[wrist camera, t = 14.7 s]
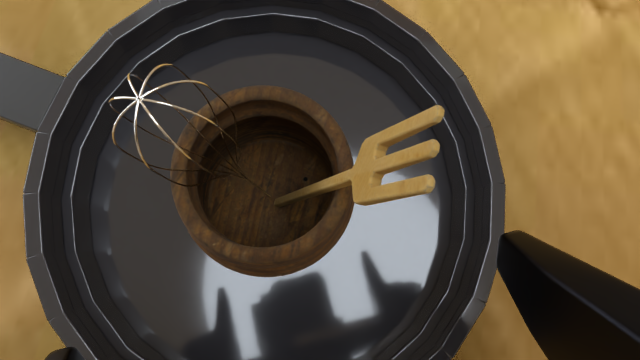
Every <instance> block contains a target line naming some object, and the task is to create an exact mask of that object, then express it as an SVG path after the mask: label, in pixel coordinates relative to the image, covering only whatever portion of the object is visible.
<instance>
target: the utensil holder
mask: <svg viewBox="0 0 640 360" xmlns="http://www.w3.org/2000/svg"><path fill="white" fill-rule="evenodd" d="M163 66H171V67H174V68H176V69H177V70H178V71H180V72H181V73H182V74H183V75H184V76H185V77H186V78H187V79H188V80H181V81H174V82H170V83H167V84H164V85H161V86H159V87H157V88H152V87H151V86H150V85H149V84H147V81H148V79H149V77H150V76H151V75H152V74H153V72H154V71H156V70H157V69H158V68H160V67H163ZM130 75H132V76H134V77H136V78H138V79H139V80H140V81H142V82H143V85H142V88H141V91H140V94H139V95H138V94H137V92H136V90H135V89H134V87H133V85H132V83H131V80H130ZM127 79H128V82H129V84H130V86H131V88H132V90H133V92H134V94H135V95H136V97H114V98H111V99H110V100H109V101H108V104H109V106H110V108H111V109H112V110H113V111H114V112H116V113H117V114H119V117H118V118H117V120H116V122H115V123H114V126H113V130H112V139H113V142H114V144H115V146H116V147H117V148H118V149H119V150H121V151H122V152H124V153H125V154H127V155H129V156H130V157H132V158H134V159H136V160H138V161H140V162H142V163H144V164H145V165H146V166H147V168H148V169H150V170H151V171H152V172H154V173H155V174H157V175H159V176H161V177H162V178H164V179H166V180H168V181H170V182H171V190H172V195H173V199H174V202H175V205H176V208H177V211H178V213H179V215H180V217H181V219H182V221H183V223H184V225H185V226H186V228H187V230H188V232H189V233H190V235H191V237H192V238H193V240H194V241H195V242H196V244H197V245H198V246H199V247H200V248H201V249H202V250H203V251H204V252H205V253H206V254H207V255H208V256H209V257H210V258H212V259H213V260H214V261H216V262H217V263H219V264H220V265H222V266H224V267H226V268H228V269H230V270H232V271H235V272H238V273H241V274H245V275H249V276H255V277H278V276H285V275H289V274H292V273H295V272H298V271H301V270H303V269H305V268H307V267H309V266H311V265H313V264H314V263H316V262H317V261H319V260H320V259H321V258H323V257H324V256H325V255H326V254H327V253H328V252H329V251H330V250H331V249H332V248H333V247H334V246H335V245H336V243H337V242H338V241H339V239H340V238H341V236H342V235H343V233H344V231H345V230H346V227H347V225H348V223H349V221H350V218H351V215H352V212H353V208H354V203H356V204H358V205H363V206H368V205H373V204H378V203H383V202H388V201H393V200H398V199H403V198H408V197H413V196H417V195H422V194H427V193H431V192H432V190H433V189H434V187H435V179H434V177H433V176H432V175H429V174H427V175H423V176H418V177H414V178H410V179H405V180H401V181H397V182H393V183H388V184H384V185H381V182H382V178H383V177H384V175H385V174H388V173H391V172H394V171H396V170H399V169H402V168H405V167H408V166H411V165H414V164H417V163H420V162H422V161H425V160H428V159H431V158H434V157H436V156H437V154H438V153H439V149H440V144H439V142H438V141H437V140H434V139H431V140H428V141H426V142H423V143H420V144H417V145H414V146H412V147H409V148H406V149H403V150H400V151H398V152H395V153H392V154H389V155H386V151H387V150H388V148H389V146H392V145H394V144H396V143H398V142H400V141H402V140H404V139H406V138H408V137H410V136H413V135H415V134H417V133H419V132H421V131H423V130H425V129H427V128H429V127H431V126H433V125H436V124H438V123H440V122H441V120H442V119H443V117H444V111H445V110H444V108H443V107H442V106H440V105H435V106H433V107H431V108H429V109H427V110H425V111H423V112H421V113H419V114H416V115H414V116H412V117H410V118H408V119H406V120H404V121H402V122H400V123H397V124H395V125H393V126H391V127H389V128H387V129H385V130H383V131H381V132H378V133H376V134H374V135H372V136H370V137H368V138H367V139H365V140H364V142H363V143H362V146H361V148H360V151H359V154H358V156H357V159H356V162H355V164H353V158H352V154H351V151H350V147H349V144H348V142H347V139H346V137H345V135H344V133H343V131H342V130H341V128H340V126H339V125H338V123H337V122H336V121H335V119H334V118H333V117H332V116H331V115H330V114H329V113H328V112H327V111H326V110H325V109H324V108H323V107H322V106H321V105H319V104H318V103H317V102H315V101H314V100H312V99H311V98H309V97H307V96H305V95H303V94H301V93H299V92H296V91H294V90H291V89H287V88H283V87H278V86H269V85H257V86H248V87H243V88H239V89H235V90H232V91H229V92H227V93H225V94H222V95H219V94H218V93H217V92H216V91H215V90H214V89H212V88H211V87H210V86H209V85H207V84H205V83H203V82H199V81H193V80H191V79H190V78H189V77H188V76H187V75H186V74H185V73H184V72H183V71H182V70H180V69H179V68H178V67H176V66H175V65H172V64H161V65H159V66H157V67H155V68H154V69H153V70H152V71H151V72H150V73H149V74H148V76H147V77H146V79H145V81H144V80H142V79H141V78H140V77H138V76H137V75H135V74H133V73H128V75H127ZM186 82H188V83H193V84H194V85H195V87H196V88H197V89H198V90H199V91H200V92H201V93H202V95H203V96H204V98H205V99H206V101H207V102H208V103H207V104H206V105H205V106H203V107H202V108H201V109H200V110H199V111H198V112H197V113H195V112H192V111H190V110H187V109H184V108H182V107H179V106H175V105H172V104H171V103H170V102H169V101H168V100H167V99H166V98H164V97H163V96H162V95H161V94H160V93H159V92H157V91H156V90H158V89H161V88H163V87H166V86H169V85H172V84H177V83H186ZM195 83H198V84H202V85H204V86H206V87H208V88H209V89H210V90H212V91H213V92H214V93H215V94H216V95H217V96H218V97H217V98H215V99H213V100H212V101H210V102H209V101H208V99H207V97H206V96H205V94H204V93H203V92H202V90H201V89H200V88H199V87H198V86H197V85H196V84H195ZM145 85H147V86H148V87H149V88H150V89H152V90H151V91H149V92H147V93H145V94H144V95H142V93H143V90H144V87H145ZM152 92H155V93H157V94H158V95H159V96H160V97H162V98H163V99H164V100H165V101H166V102H167V103H165V102H160V101H156V100H150V99H144V97H145V96H147V95H149V94H150V93H152ZM139 98H140V99H139ZM116 99H133V100H135V101H134V102H133V103H131V104H130V105H129V106H128V107H127V108H126V109H125V110H124V111H123V112H122V113H119V112H118V111H117V110H115V109H114V108H113V107H112V105H111V101H113V100H116ZM142 101H148V102H153V103H158V104H163V105H167V106H170V107H173V108H174V109H175V110H176V111H177V112H178V113H179V114H180V115H181V116H182V117H183V118H184V119H185V120H186V121H187V122H188V123H187V125H186V126H185V128H184V129H183V131H182V133H181V135H180V137H179V139H178V141H177V144H176V143H175V142H174V141H173V140H172V139H171V138H170V137H169V136H168V135H167V133H166V132H165V131H164V130H163V129H162V128H161V126H160V125H159V124H158V123H157V121H156V120H155V119H154V117H153V116H152V115H151V113H150V112H149V111H148V109H147V108H146V106H145V105H144V103H143V102H142ZM135 103H137V105H136V111H135V119H134V122H133V121H131V120H130V119H128V118H127V117H125V116H124V113H125V112H126V111H127V110H128V109H129V108H131V107H132V106H133V105H134V104H135ZM140 103H141V105H142V106H143V108H144V109H145V111H146V112H147V113H148V115H149V116H150V117H151V119H152V120H153V121H154V123H155V124H156V125H157V127H158V128H159V129H160V130H161V131H162V133H163V134H164V135H165V136H166V137H167V138H168V139H169V140H170V142H169V141H167V140H165V139H163V138H160V137H158V136H156V135H155V134H153V133H151V132H149V131H147V130H145V129H144V128H142V127H141V126H139V125H137V115H138V108H139V104H140ZM178 109H180V110H183V111H186V112H188V113H191V114H193V115H194V116H193V117H192V118H191V120H190V121H189V120H188V119H187V118H186V117H185V116H184V115H183V114H182V113H181V112H180V111H179V110H178ZM121 117H123V118H125V119H126V120H128V121H129V122H131V123H132V124H134V133H135V141H136V145H137V149H138V152H139V154H140V157H141V159H142V160H140V159H138V158H136V157H135V156H133V155H131V154H129V153H128V152H126V151H124V150H123V149H122V148H120V147H119V146H118V144H117V143H116V140H115V128H116V125H117V123H118V121H119V120H120V118H121ZM137 127H138V128H140V129H142V130H143V131H145V132H147V133H149V134H151V135H153V136H154V137H156V138H158V139H161V140H163V141H165V142H167V143H169V144H172V145H174V146H175V149H174V153H173V157H172V162H171V169H168V168H161V167H157V166H154V165H151V164H148V163H146V161H145V159H144V157H143V155H142V153H141V150H140V147H139V143H138V138H137ZM150 166H151V167H154V168H158V169H162V170H170V171H171V172H170V179H168V178H167V177H165V176H163V175H161V174H160V173H158V172H156V171H155V170H153V169H152V168H151V167H150Z"/></svg>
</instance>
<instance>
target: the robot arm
mask: <svg viewBox="0 0 640 360" xmlns="http://www.w3.org/2000/svg"><path fill="white" fill-rule="evenodd" d="M496 265H497V268H498V271H499V273H500V275H501V277H502V279H503V281H504V283H505V285H506V287H507V288H508V290H509V292H510V294H511V296H512V298H513V300H514V302H515V304H516V306H517V308H518V310H519V312H520V314H521V315H522V317H523V319H524V321H525V323H526V325H527V327H528V329H529V330H530V332H531V334H532V335H533V337H534V339H535V340H536V342H537V343H538V345H539V346H540V348H541V349H542V351H543V352H544V354H545V355H546V357H547V358H548V360H640V289H638V288H636V287H634V286H632V285H630V284H628V283H626V282H624V281H622V280H620V279H618V278H616V277H614V276H612V275H610V274H608V273H606V272H604V271H602V270H600V269H597V268H595V267H593V266H591V265H589V264H587V263H585V262H583V261H581V260H579V259H577V258H575V257H573V256H571V255H569V254H567V253H565V252H563V251H561V250H559V249H557V248H555V247H553V246H551V245H549V244H547V243H545V242H543V241H541V240H539V239H537V238H535V237H533V236H531V235H529V234H527V233H525V232H522V231H519V230H517V231H512V232H508V233H504V234H502V235H501V236H500V237H499V243H498V250H497V257H496ZM45 360H85V358H84V357H83V356H82V355H81V353H80V352H79V351H78V349H77V348H75V347H67V348H63V349H59V350H55V351H53V352H51V353H50V354H49V355H48V356H47V357H46V358H45Z"/></svg>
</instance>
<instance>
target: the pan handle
mask: <svg viewBox="0 0 640 360" xmlns="http://www.w3.org/2000/svg"><path fill="white" fill-rule="evenodd" d="M64 78H65V77H63V76H60V75H58V74H55V73H52V72H50V71H47V70H45V69H42V68H39V67H37V66H34V65H32V64H29V63H26V62H24V61H21V60H18V59H16V58H13V57H11V56H8V55H5V54H3V53H0V119H2V120H4V121H7V122H9V123H12V124H15V125H17V126H20V127H22V128H25V129H28V130H30V131H33V132H35V133H36V132H38V131H37V129H38V127H39V125H40V123H41V122H42V120H43V118H44V116H45V114H46V112H47V110H48V108H49V106H50V104H51V102H52V101H53V99H54V97H55V95H56V93H57V91H58V89H59V87H60V85H61V83H62V81H63V80H64Z"/></svg>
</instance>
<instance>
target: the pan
mask: <svg viewBox="0 0 640 360" xmlns="http://www.w3.org/2000/svg"><path fill="white" fill-rule="evenodd" d="M161 64H172V65H175V66H176V67H178V68H179V69H180V70H182V71H183V72H184V73H185V74H186V75H187V76H188V77H189V78H190V79H191V80H193V81H199V82H203V83H205V84H207V85H209V86H210V87H211V88H212V89H214V90H215V91H216V92H217V93H218V94H219V95H222V94H225V93H227V92H229V91H232V90H235V89H239V88H243V87H248V86H257V85H269V86H278V87H283V88H287V89H291V90H294V91H296V92H299V93H301V94H303V95H305V96H307V97H309V98H311V99H312V100H314V101H315V102H317V103H318V104H319V105H321V106H322V107H323V108H324V109H325V110H326V111H327V112H328V113H329V114H330V115H331V116H332V117H333V118H334V119H335V121H336V122H337V123H338V125H339V126H340V128H341V130H342V131H343V133H344V135H345V137H346V139H347V142H348V144H349V147H350V151H351V154H352V158H353V164H355V162H356V159H357V156H358V154H359V151H360V148H361V146H362V143H363V142H364V140H365V139H367V138H368V137H370V136H372V135H374V134H376V133H378V132H381V131H383V130H385V129H387V128H389V127H391V126H393V125H395V124H397V123H400V122H402V121H404V120H406V119H408V118H410V117H412V116H414V115H416V114H419V113H421V112H423V111H425V110H427V109H429V108H431V107H433V106H435V105H440V106H442V107H443V108H444V110H445V111H444V117H443V119H442V120H441V122H440V123H438V124H436V125H433V126H431V127H429V128H427V129H425V130H423V131H421V132H419V133H417V134H415V135H413V136H410V137H408V138H406V139H404V140H402V141H400V142H398V143H396V144H394V145H392V146H389V148H388V150H387V151H386V155H389V154H392V153H395V152H398V151H400V150H403V149H406V148H409V147H412V146H414V145H417V144H420V143H423V142H426V141H428V140H431V139H434V140H437V141H438V142H439V144H440V149H439V153H438V154H437V156H436V157H434V158H431V159H428V160H425V161H422V162H420V163H417V164H414V165H411V166H408V167H405V168H402V169H399V170H396V171H394V172H391V173H388V174H385V175H384V177H383V178H382V182H381V185H384V184H388V183H393V182H397V181H401V180H405V179H410V178H414V177H418V176H423V175H427V174H429V175H432V176H433V177H434V179H435V187H434V189H433V190H432V192H431V193H427V194H422V195H417V196H413V197H408V198H403V199H398V200H393V201H388V202H383V203H378V204H373V205H368V206H363V205H358V204H356V203H354V208H353V212H352V215H351V218H350V221H349V223H348V225H347V227H346V230H345V231H344V233H343V235H342V236H341V238H340V239H339V241H338V242H337V243H336V245H335V246H334V247H333V248H332V249H331V250H330V251H329V252H328V253H327V254H326V255H325V256H324V257H323V258H321V259H320V260H319V261H317V262H316V263H314V264H313V265H311V266H309V267H307V268H305V269H303V270H301V271H298V272H295V273H292V274H289V275H285V276H278V277H255V276H249V275H245V274H241V273H238V272H235V271H232V270H230V269H228V268H226V267H224V266H222V265H220V264H219V263H217V262H216V261H214V260H213V259H212V258H210V257H209V256H208V255H207V254H206V253H205V252H204V251H203V250H202V249H201V248H200V247H199V246H198V245H197V244H196V242H195V241H194V240H193V238H192V237H191V235H190V233H189V232H188V230H187V228H186V226H185V225H184V223H183V221H182V219H181V217H180V215H179V213H178V211H177V208H176V205H175V202H174V199H173V195H172V190H171V182H170V181H168V180H166V179H164V178H162V177H161V176H159V175H157V174H155V173H154V172H152V171H151V170H150V169H148V168H147V166H146V165H145V164H144V163H142V162H140V161H138V160H136V159H134V158H132V157H130V156H129V155H127V154H125V153H124V152H122V151H121V150H119V149H118V148H117V147H116V146H115V144H114V142H113V139H112V130H113V126H114V123H115V122H116V120H117V118H118V117H119V114H117V113H116V112H114V111H113V110H112V109H111V108H110V106H109V104H108V101H109V100H110V99H111V98H114V97H136V95H135V94H134V92H133V90H132V88H131V86H130V84H129V82H128V79H127V75H128V73H133V74H135V75H137V76H138V77H140V78H141V79H142V80H144V81H145V79H146V77H147V76H148V74H149V73H150V72H151V71H152V70H153V69H154V68H155V67H157V66H159V65H161ZM66 76H67V77H65V78H64V80H63V81H62V83H61V85H60V87H59V89H58V91H57V93H56V95H55V97H54V99H53V101H52V102H51V104H50V106H49V108H48V110H47V112H46V114H45V116H44V118H43V120H42V122H41V123H40V125H39V127H38V129H37V131H38V132H36V135H35V140H34V144H33V149H32V153H31V158H30V162H29V167H28V171H27V176H26V180H25V185H24V189H23V193H24V194H23V210H24V228H25V247H26V257H27V259H26V260H27V263H28V266H29V269H30V272H31V275H32V278H33V281H34V283H35V286H36V289H37V292H38V295H39V298H40V301H41V304H42V306H43V309H44V312H45V315H46V318H47V320H48V321H49V323H50V325H51V326H52V328H53V329H54V330H55V332H56V333H57V335H58V336H59V337H60V339H61V340H62V341H63V343H64V344H65V346H66V347H75V348H77V349H78V351H79V352H80V353H81V355H82V356H83V357H84V358H85V360H452V358H454V356H455V355H456V353H457V351H458V350H459V348H460V346H461V345H462V343H463V342H464V340H465V338H466V337H467V335H468V333H469V332H470V330H471V329H472V327H473V325H474V324H475V322H476V320H477V319H478V317H479V315H480V314H481V312H482V311H483V309H484V307H485V306H486V304H485V303H487V300H488V297H489V294H490V290H491V287H492V283H493V280H494V277H495V273H496V270H497V265H496V257H497V250H498V243H499V237H500V236H501V235H502V234H504V226H505V184H504V183H505V179H504V174H503V170H502V166H501V162H500V157H499V153H498V149H497V145H496V140H495V136H494V132H493V128H492V126H491V123H490V121H489V119H488V117H487V115H486V113H485V111H484V109H483V107H482V105H481V103H480V102H479V100H478V98H477V96H476V94H475V92H474V90H473V88H472V86H471V84H470V82H469V81H468V79H467V77H466V75H464V72H463V71H462V70H461V69H460V68H459V67H458V65H457V64H456V63H455V62H454V61H453V60H452V59H451V58H450V56H449V55H448V54H447V53H446V52H445V51H444V50H443V49H442V47H441V46H440V45H439V44H438V43H437V42H436V41H435V40H434V38H433V37H432V36H431V35H430V34H429V33H428V32H426V30H425V29H423V28H422V27H420V26H419V25H417V24H416V23H414V22H413V21H412V20H410V19H409V18H407V17H406V16H404V15H403V14H401V13H400V12H398V11H397V10H395V9H394V8H393V7H391V6H390V5H388V4H387V3H385V2H384V1H382V0H152V1H150V2H149V3H147V4H146V5H144V6H143V7H141V8H140V9H138V10H137V11H135V12H134V13H132V14H131V15H129V16H128V17H126V18H125V19H123V20H122V21H120V22H119V23H117V24H116V25H114V26H113V27H111V28H110V29H108V32H107V31H106V32H105V33H104V34H103V35H102V36H101V37H100V38H99V39H98V41H97V42H96V43H95V44H94V45H93V46H92V47H91V48H90V49H89V50H88V52H87V53H86V54H85V55H84V56H83V57H82V58H81V59H80V60H79V61H78V63H77V64H76V65H75V66H74V67H73V68H72V69H71V70H70V71H69V72H68V74H67V75H66ZM130 80H131V83H132V85H133V87H134V89H135V90H136V92H137V94H138V95H139V94H140V91H141V88H142V85H143V82H142V81H140V80H139V79H138V78H136V77H134V76H132V75H130ZM181 80H188V79H187V78H186V77H185V76H184V75H183V74H182V73H181V72H180V71H178V70H177V69H176V68H174V67H171V66H163V67H160V68H158V69H157V70H156V71H154V72H153V74H152V75H151V76H150V77H149V79H148V81H147V84H149V85H150V86H151V87H152V88H157V87H159V86H161V85H164V84H167V83H170V82H174V81H181ZM195 84H196V85H197V86H198V87H199V88H200V89H201V90H202V92H203V93H204V94H205V96H206V97H207V99H208V101H209V102H210V101H212V100H213V99H215V98H217V97H218V96H217V95H216V94H215V93H214V92H213V91H212V90H210V89H209V88H208V87H206V86H204V85H202V84H198V83H195ZM151 90H152V89H150V88H149V87H148V86H147V85H145V87H144V90H143V93H142V95H144V94H145V93H147V92H149V91H151ZM156 91H157V92H159V93H160V94H161V95H162V96H163V97H164V98H166V99H167V100H168V101H169V102H170V103H171V104H172V105H175V106H179V107H182V108H184V109H187V110H190V111H192V112H195V113H197V112H198V111H199V110H200V109H201V108H202V107H203V106H205V105H206V104H207V103H208V102H207V101H206V99H205V98H204V96H203V95H202V93H201V92H200V91H199V90H198V89H197V88H196V87H195V85H194V84H193V83H188V82H186V83H177V84H172V85H169V86H166V87H163V88H161V89H158V90H156ZM139 99H140V98H139ZM144 99H150V100H156V101H160V102H165V103H167V102H166V101H165V100H164V99H163V98H162V97H160V96H159V95H158V94H157V93H155V92H152V93H150V94H149V95H147V96H145V97H144ZM134 101H135V100H133V99H116V100H113V101H111V105H112V107H113V108H114V109H115V110H117V111H118V112H119V113H122V112H123V111H124V110H125V109H126V108H127V107H128V106H129V105H130V104H131V103H133V102H134ZM142 102H143V103H144V105H145V106H146V108H147V109H148V111H149V112H150V113H151V115H152V116H153V117H154V119H155V120H156V121H157V123H158V124H159V125H160V126H161V128H162V129H163V130H164V131H165V132H166V133H167V135H168V136H169V137H170V138H171V139H172V140H173V141H174V142H175V143H176V144H177V141H178V139H179V137H180V135H181V133H182V131H183V129H184V128H185V126H186V125H187V123H188V122H187V121H186V120H185V119H184V118H183V117H182V116H181V115H180V114H179V113H178V112H177V111H176V110H175V109H174V108H173V107H170V106H167V105H163V104H158V103H153V102H148V101H142ZM136 105H137V103H135V104H134V105H133V106H132V107H131V108H129V109H128V110H127V111H126V112H125V113H124V116H125V117H127V118H128V119H130V120H131V121H133V122H134V119H135V111H136ZM178 110H179V111H180V112H181V113H182V114H183V115H184V116H185V117H186V118H187V119H188V120H189V121H190V120H191V118H192V117H193V116H194V115H193V114H191V113H188V112H186V111H183V110H180V109H178ZM137 125H139V126H141V127H142V128H144V129H145V130H147V131H149V132H151V133H153V134H155V135H156V136H158V137H160V138H163V139H165V140H167V141H169V142H170V140H169V139H168V138H167V137H166V136H165V135H164V134H163V133H162V131H161V130H160V129H159V128H158V127H157V125H156V124H155V123H154V121H153V120H152V119H151V117H150V116H149V115H148V113H147V112H146V111H145V109H144V108H143V106H142V105H141V103H140V104H139V108H138V115H137ZM137 138H138V143H139V147H140V150H141V153H142V155H143V157H144V159H145V161H146V163H148V164H151V165H154V166H157V167H161V168H168V169H171V162H172V157H173V153H174V149H175V146H174V145H172V144H169V143H167V142H165V141H163V140H161V139H158V138H156V137H154V136H153V135H151V134H149V133H147V132H145V131H143V130H142V129H140V128H138V127H137ZM115 140H116V143H117V144H118V146H119V147H120V148H122V149H123V150H124V151H126V152H128V153H129V154H131V155H133V156H135V157H136V158H138V159H140V160H142V159H141V157H140V154H139V152H138V149H137V145H136V141H135V133H134V124H132V123H131V122H129V121H128V120H126V119H125V118H123V117H121V118H120V120H119V121H118V123H117V125H116V128H115ZM150 167H151V166H150ZM151 168H152V169H153V170H155V171H156V172H158V173H160V174H161V175H163V176H165V177H167V178H168V179H170V172H171V171H170V170H162V169H158V168H154V167H151Z"/></svg>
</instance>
